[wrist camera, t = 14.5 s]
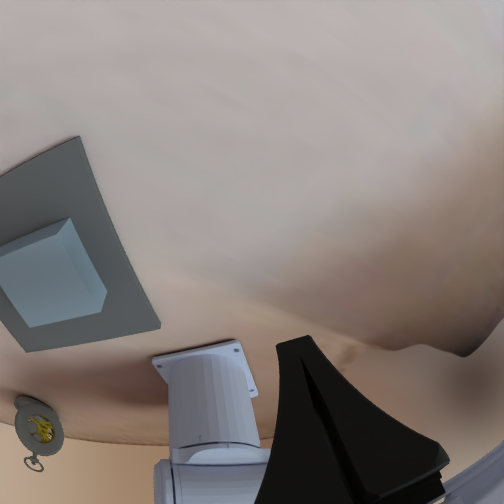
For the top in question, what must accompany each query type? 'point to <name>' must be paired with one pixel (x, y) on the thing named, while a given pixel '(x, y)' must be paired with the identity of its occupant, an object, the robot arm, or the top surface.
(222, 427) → the robot arm
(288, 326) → the top surface
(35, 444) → the pocket watch
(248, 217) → the top surface
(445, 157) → the top surface
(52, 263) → the blue-grey rectangular block
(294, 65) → the top surface
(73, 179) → the mat
